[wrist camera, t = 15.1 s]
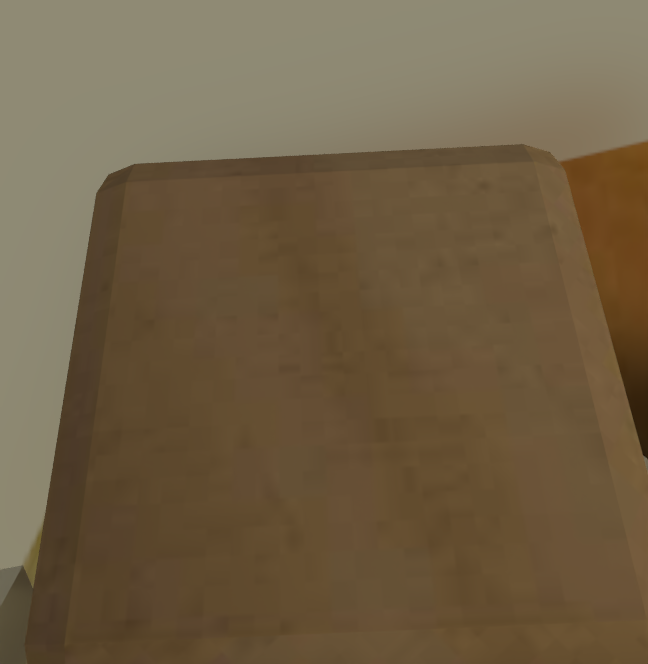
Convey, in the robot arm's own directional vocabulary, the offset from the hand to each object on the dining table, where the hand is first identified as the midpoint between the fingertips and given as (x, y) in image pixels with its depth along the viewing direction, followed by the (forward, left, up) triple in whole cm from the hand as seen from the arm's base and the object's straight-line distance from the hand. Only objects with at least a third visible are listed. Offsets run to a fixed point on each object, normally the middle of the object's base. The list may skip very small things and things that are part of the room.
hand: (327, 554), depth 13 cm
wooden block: (-1, -3, -15) cm, 15 cm away
